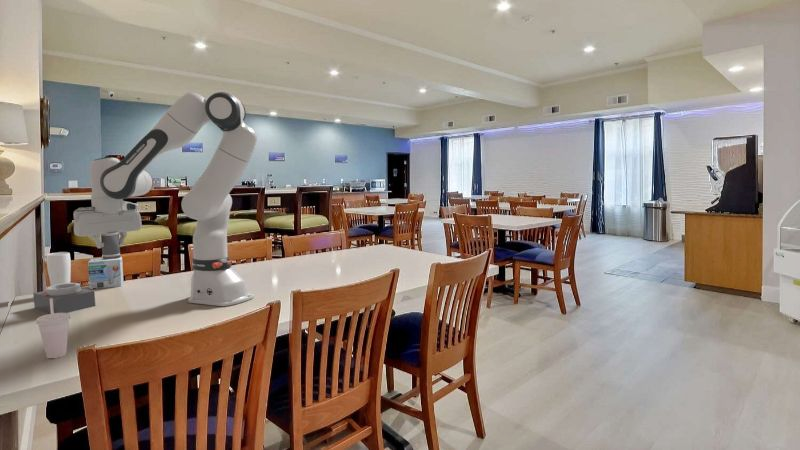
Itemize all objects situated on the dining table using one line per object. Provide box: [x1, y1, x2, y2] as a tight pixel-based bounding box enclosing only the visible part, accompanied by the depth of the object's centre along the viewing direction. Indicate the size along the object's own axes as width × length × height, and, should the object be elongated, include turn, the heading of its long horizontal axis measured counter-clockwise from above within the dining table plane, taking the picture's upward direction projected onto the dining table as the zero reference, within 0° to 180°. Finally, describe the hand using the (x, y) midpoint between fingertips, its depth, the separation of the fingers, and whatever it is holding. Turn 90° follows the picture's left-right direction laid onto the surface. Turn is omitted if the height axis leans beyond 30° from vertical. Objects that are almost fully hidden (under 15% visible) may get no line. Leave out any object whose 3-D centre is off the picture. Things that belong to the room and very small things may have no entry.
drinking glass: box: [46, 251, 72, 286], centre depth 156 cm, size 7×7×15 cm
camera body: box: [32, 282, 96, 314], centre depth 142 cm, size 14×11×7 cm
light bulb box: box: [87, 256, 125, 290], centre depth 169 cm, size 11×7×11 cm, turn 117°
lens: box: [100, 232, 121, 259], centre depth 148 cm, size 5×5×9 cm
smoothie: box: [35, 298, 71, 359], centre depth 103 cm, size 6×6×14 cm
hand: (110, 246), depth 148 cm, fingers closed on lens, 5 cm apart
